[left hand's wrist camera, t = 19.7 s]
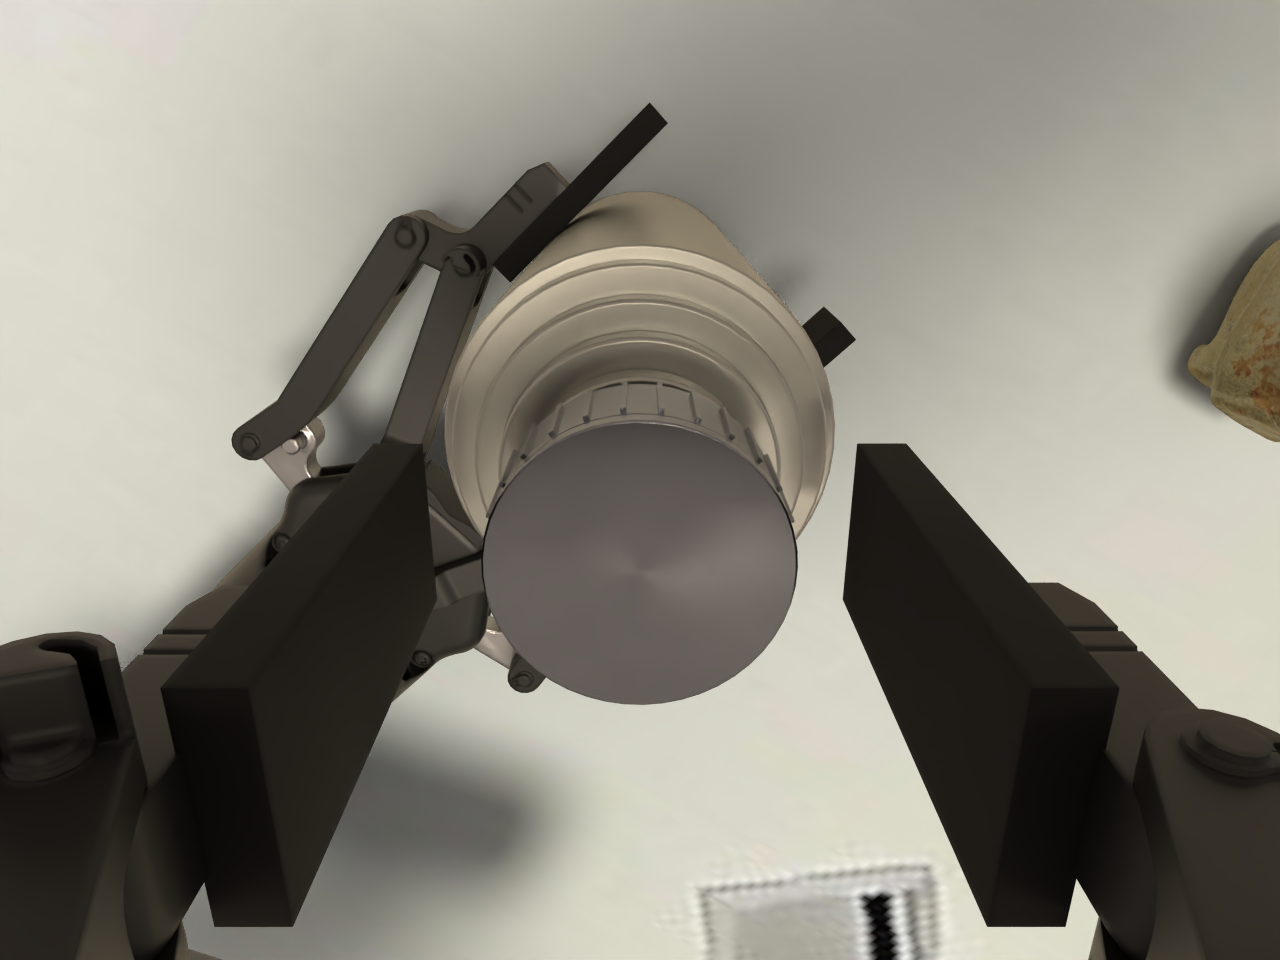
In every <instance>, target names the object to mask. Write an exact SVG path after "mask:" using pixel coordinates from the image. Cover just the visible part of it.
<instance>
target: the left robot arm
mask: <svg viewBox="0 0 1280 960" xmlns="http://www.w3.org/2000/svg"><path fill="white" fill-rule="evenodd" d="M436 601H437V593H436V582H435V571H434V560H433V549H432V538H431V528H430V517H429V506H428V495H427V484H426V474H425V463H424V452H423V444H373V445H372V446H371V448H370V449H369V450H368V451H367V452H366V453H365V454H364V456H363V457H362V458H361V459H360V460H359V461H358V462H357V464H356V465H355V466H354V467H353V468H352V469H351V470H350V472H349V473H348V474H347V475H346V476H345V477H344V478H343V480H342V481H341V482H340V483H339V484H338V485H337V486H336V488H335V489H334V490H333V491H332V492H331V493H330V494H329V496H328V497H327V498H326V499H325V500H324V501H323V502H322V504H321V505H320V506H319V507H318V508H317V509H316V510H315V512H314V513H313V514H312V515H311V516H310V517H309V518H308V520H307V521H306V522H305V523H304V524H303V525H302V526H301V528H300V529H299V530H298V531H297V532H296V533H295V534H294V536H293V537H292V538H291V539H290V540H289V541H288V542H287V544H286V545H285V546H284V547H283V548H282V549H281V550H280V552H279V553H278V554H277V555H276V556H275V557H274V558H273V560H272V561H271V562H270V563H269V564H268V565H267V566H266V568H265V569H264V570H263V571H262V572H261V573H260V574H259V576H258V577H257V578H256V579H255V580H254V581H253V582H252V584H251V585H250V586H221V587H219V588H217V589H216V590H214V591H212V592H210V593H208V594H207V595H205V596H203V597H201V598H199V599H198V600H196V601H194V602H192V603H190V604H189V605H187V606H186V607H185V608H184V609H183V610H182V611H181V612H180V613H179V614H178V615H177V616H176V617H175V618H174V619H173V620H172V621H171V622H170V623H169V624H168V625H167V626H166V627H165V628H164V629H163V634H162V635H157V636H156V637H155V638H154V639H153V640H152V641H151V642H150V644H149V645H148V646H147V647H146V648H145V649H144V653H143V655H138V656H137V657H136V658H135V659H134V660H133V661H132V662H131V663H130V664H129V665H128V666H127V667H126V668H125V669H124V670H123V671H122V672H121V669H120V665H119V660H118V656H117V652H116V648H115V644H113V643H112V642H110V641H109V640H107V639H106V638H104V637H103V636H101V635H97V634H90V633H84V632H63V633H49V634H43V635H38V636H34V637H29V638H25V639H21V640H16V641H12V642H9V643H7V644H4V645H1V646H0V960H189V952H188V945H187V938H186V934H185V930H184V926H183V922H182V919H183V917H184V915H185V914H186V912H187V910H188V909H189V907H190V905H191V904H192V902H193V900H194V898H195V897H196V895H197V893H198V892H199V890H200V888H201V886H202V885H203V883H204V882H205V887H206V891H207V896H208V900H209V904H210V909H211V913H212V918H213V922H214V926H215V927H293V925H294V923H295V920H296V918H297V916H298V914H299V911H300V909H301V907H302V905H303V902H304V900H305V898H306V895H307V893H308V891H309V889H310V886H311V884H312V882H313V880H314V877H315V875H316V873H317V871H318V868H319V866H320V864H321V861H322V859H323V857H324V855H325V852H326V850H327V848H328V846H329V843H330V841H331V839H332V837H333V834H334V832H335V830H336V827H337V825H338V823H339V821H340V818H341V816H342V814H343V812H344V809H345V807H346V805H347V803H348V800H349V798H350V796H351V793H352V791H353V789H354V787H355V784H356V782H357V780H358V778H359V775H360V773H361V771H362V769H363V766H364V764H365V762H366V759H367V757H368V755H369V753H370V750H371V748H372V746H373V744H374V741H375V739H376V737H377V735H378V732H379V730H380V728H381V725H382V723H383V721H384V719H385V716H386V714H387V712H388V710H389V707H390V705H391V703H392V701H393V698H394V696H395V694H396V691H397V689H398V687H399V685H400V682H401V680H402V678H403V676H404V673H405V671H406V669H407V667H408V664H409V662H410V660H411V657H412V655H413V653H414V651H415V648H416V646H417V644H418V642H419V639H420V637H421V635H422V633H423V630H424V628H425V626H426V623H427V621H428V619H429V617H430V614H431V612H432V610H433V608H434V605H435V603H436ZM843 601H844V603H845V605H846V608H847V610H848V612H849V614H850V617H851V619H852V621H853V623H854V626H855V628H856V630H857V633H858V635H859V637H860V639H861V642H862V644H863V646H864V648H865V651H866V653H867V655H868V657H869V660H870V662H871V664H872V667H873V669H874V671H875V673H876V676H877V678H878V680H879V682H880V685H881V687H882V689H883V691H884V694H885V696H886V698H887V701H888V703H889V705H890V707H891V710H892V712H893V714H894V716H895V719H896V721H897V723H898V725H899V728H900V730H901V732H902V735H903V737H904V739H905V741H906V744H907V746H908V748H909V750H910V753H911V755H912V757H913V759H914V762H915V764H916V766H917V769H918V771H919V773H920V775H921V778H922V780H923V782H924V784H925V787H926V789H927V791H928V793H929V796H930V798H931V800H932V803H933V805H934V807H935V809H936V812H937V814H938V816H939V818H940V821H941V823H942V825H943V827H944V830H945V832H946V834H947V837H948V839H949V841H950V843H951V846H952V848H953V850H954V852H955V855H956V857H957V859H958V861H959V864H960V866H961V868H962V871H963V873H964V875H965V877H966V880H967V882H968V884H969V886H970V889H971V891H972V893H973V895H974V898H975V900H976V902H977V905H978V907H979V909H980V911H981V914H982V916H983V918H984V920H985V923H986V925H987V927H1065V926H1066V922H1067V918H1068V913H1069V909H1070V904H1071V900H1072V896H1073V891H1074V887H1075V882H1076V878H1077V880H1078V882H1079V884H1080V885H1081V887H1082V889H1083V890H1084V892H1085V894H1086V895H1087V897H1088V899H1089V900H1090V902H1091V904H1092V906H1093V907H1094V909H1095V911H1096V912H1097V914H1098V916H1099V918H1098V922H1097V926H1096V930H1095V934H1094V938H1093V943H1092V947H1091V951H1090V955H1089V959H1088V960H1280V734H1279V733H1277V732H1275V731H1272V730H1270V729H1268V728H1266V727H1263V726H1261V725H1259V724H1257V723H1254V722H1252V721H1250V720H1248V719H1245V718H1241V717H1238V716H1234V715H1230V714H1226V713H1222V712H1219V711H1215V710H1207V709H1198V708H1197V707H1196V706H1195V705H1194V704H1193V703H1192V702H1191V701H1190V700H1189V699H1188V698H1187V697H1186V696H1185V695H1184V694H1183V693H1182V692H1181V690H1180V689H1179V688H1178V687H1177V686H1176V685H1175V684H1174V683H1173V682H1172V681H1171V680H1170V679H1169V678H1168V677H1167V676H1166V675H1165V674H1164V673H1163V672H1162V671H1161V670H1160V669H1159V668H1158V667H1157V666H1156V665H1155V664H1154V663H1153V662H1152V661H1151V660H1150V659H1149V658H1148V657H1147V656H1146V655H1145V654H1144V653H1143V652H1142V651H1137V646H1136V645H1135V644H1134V643H1133V642H1132V641H1131V640H1130V639H1129V637H1128V636H1127V635H1126V634H1125V633H1124V632H1123V631H1118V626H1117V625H1116V624H1115V623H1114V622H1113V621H1112V620H1111V619H1110V618H1109V617H1108V616H1107V615H1106V614H1105V613H1104V612H1103V611H1102V610H1101V609H1100V608H1099V607H1098V606H1097V605H1096V604H1095V603H1094V602H1092V601H1090V600H1088V599H1087V598H1085V597H1083V596H1081V595H1079V594H1078V593H1076V592H1074V591H1072V590H1070V589H1069V588H1067V587H1065V586H1063V585H1061V584H1060V583H1028V582H1027V581H1026V580H1025V579H1024V578H1023V577H1022V576H1021V574H1020V573H1019V572H1018V571H1017V570H1016V569H1015V568H1014V566H1013V565H1012V564H1011V563H1010V562H1009V561H1008V560H1007V558H1006V557H1005V556H1004V555H1003V554H1002V553H1001V552H1000V550H999V549H998V548H997V547H996V546H995V545H994V544H993V542H992V541H991V540H990V539H989V538H988V537H987V536H986V534H985V533H984V532H983V531H982V530H981V529H980V528H979V526H978V525H977V524H976V523H975V522H974V521H973V520H972V518H971V517H970V516H969V515H968V514H967V513H966V512H965V510H964V509H963V508H962V507H961V506H960V505H959V504H958V502H957V501H956V500H955V499H954V498H953V497H952V496H951V494H950V493H949V492H948V491H947V490H946V489H945V488H944V486H943V485H942V484H941V483H940V482H939V481H938V480H937V478H936V477H935V476H934V475H933V474H932V473H931V472H930V470H929V469H928V468H927V467H926V466H925V465H924V464H923V462H922V461H921V460H920V459H919V458H918V457H917V456H916V454H915V453H914V452H913V451H912V450H911V449H910V448H909V446H908V445H907V444H857V452H856V463H855V474H854V484H853V495H852V506H851V517H850V528H849V538H848V549H847V560H846V571H845V582H844V593H843Z"/></svg>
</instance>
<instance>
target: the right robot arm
mask: <svg viewBox="0 0 1280 960" xmlns="http://www.w3.org/2000/svg"><path fill="white" fill-rule="evenodd" d="M666 124H667V122H666V121H665V120H664V118H663V117H662V116H661V115H660V114H659V113H658V112H657V110H656V109H655V108H654V107H653V106H652V105H651V103H649V104H648V105H647V106H646V107H645V108H644V109H643V110H642V111H641V112H640V113H639V114H638V115H637V116H636V117H635V118H634V119H633V120H632V121H631V122H630V123H629V124H628V125H627V126H626V127H625V128H624V129H623V130H622V131H621V132H620V133H619V134H618V136H617V137H616V138H615V139H614V140H613V141H612V142H611V143H610V144H609V145H608V146H607V147H606V148H605V149H604V150H603V151H602V152H601V153H600V154H599V155H598V156H597V157H596V158H595V159H594V160H593V161H592V162H591V163H590V164H589V165H588V166H587V167H586V168H585V169H584V170H583V171H582V172H581V174H580V175H579V176H578V177H577V178H576V179H575V180H574V181H573V182H572V183H571V184H569V183H568V182H567V181H566V180H565V179H564V178H563V177H562V176H561V174H560V173H559V172H558V171H557V170H556V169H555V168H554V167H553V166H552V165H551V164H550V163H549V162H547V163H543V164H541V165H539V166H536V167H534V168H532V169H529V170H527V172H526V173H525V174H524V175H523V176H522V177H521V178H520V179H519V180H518V181H517V182H516V183H515V184H514V185H513V186H512V187H511V188H510V189H509V190H508V191H507V193H506V194H505V195H504V196H503V197H502V198H501V199H500V200H499V201H498V202H497V203H496V204H495V205H494V206H493V207H492V208H491V209H490V210H489V211H488V212H487V214H486V215H485V216H484V217H483V218H482V219H481V220H480V221H479V222H478V223H477V224H476V225H475V226H474V227H473V228H470V229H461V228H457V227H455V226H453V225H451V224H449V223H447V222H445V221H442V220H440V219H438V218H437V217H436V216H435V214H434V213H432V212H429V211H427V210H417V211H414V212H411V213H408V214H404V215H401V216H399V217H396V218H394V219H393V220H392V221H391V222H390V223H389V224H388V225H387V227H386V228H385V230H384V231H383V233H382V235H381V236H380V238H379V239H378V241H377V243H376V244H375V246H374V247H373V249H372V251H371V252H370V254H369V255H368V257H367V259H366V260H365V262H364V263H363V265H362V266H361V268H360V270H359V271H358V273H357V274H356V276H355V278H354V279H353V281H352V282H351V284H350V286H349V287H348V289H347V290H346V292H345V294H344V295H343V297H342V298H341V300H340V301H339V303H338V305H337V306H336V308H335V309H334V311H333V313H332V314H331V316H330V317H329V319H328V321H327V322H326V324H325V325H324V327H323V329H322V330H321V332H320V333H319V335H318V336H317V338H316V340H315V341H314V343H313V344H312V346H311V348H310V349H309V351H308V352H307V354H306V356H305V357H304V359H303V360H302V362H301V363H300V365H299V367H298V368H297V370H296V371H295V373H294V375H293V376H292V378H291V379H290V381H289V383H288V384H287V386H286V387H285V389H284V391H283V392H282V394H281V395H280V397H279V398H278V400H277V401H275V402H274V403H273V404H271V405H270V406H268V407H267V408H265V409H264V410H263V411H261V412H260V413H258V414H257V415H256V416H254V417H253V418H251V419H250V420H249V421H247V422H246V423H244V424H243V425H242V426H240V427H239V428H238V429H237V430H236V431H235V432H234V433H233V436H232V439H231V440H232V446H233V448H234V450H235V451H236V453H237V454H239V455H240V456H241V457H242V458H245V459H247V460H258V459H261V458H262V459H263V460H264V461H265V462H266V463H267V464H268V466H269V467H270V468H271V469H272V470H273V472H274V473H275V474H276V475H277V476H278V477H279V479H280V480H281V481H282V482H283V483H284V484H285V486H286V487H287V488H288V489H289V490H290V493H289V495H288V497H287V500H286V506H285V511H284V514H283V517H282V519H281V521H280V522H279V523H278V524H277V525H276V526H275V527H274V528H273V529H272V530H271V531H270V532H269V533H268V534H267V535H266V536H265V537H264V538H263V539H262V540H261V541H260V542H259V543H258V544H257V546H256V547H255V548H254V549H253V550H252V551H251V552H250V553H249V554H248V555H247V556H246V557H245V558H244V559H243V560H242V561H241V562H240V563H239V564H238V565H237V566H236V567H235V568H234V569H233V570H232V571H231V572H230V573H229V574H228V575H227V576H226V577H225V578H224V579H223V580H222V581H221V582H220V583H219V584H218V585H217V587H216V588H215V589H214V590H216V589H217V588H219V587H221V586H250V585H251V584H252V582H253V581H254V580H255V579H256V578H257V577H258V576H259V574H260V573H261V572H262V571H263V570H264V569H265V568H266V566H267V565H268V564H269V563H270V562H271V561H272V560H273V558H274V557H275V556H276V555H277V554H278V553H279V552H280V550H281V549H282V548H283V547H284V546H285V545H286V544H287V542H288V541H289V540H290V539H291V538H292V537H293V536H294V534H295V533H296V532H297V531H298V530H299V529H300V528H301V526H302V525H303V524H304V523H305V522H306V521H307V520H308V518H309V517H310V516H311V515H312V514H313V513H314V512H315V510H316V509H317V508H318V507H319V506H320V505H321V504H322V502H323V501H324V500H325V499H326V498H327V497H328V496H329V494H330V493H331V492H332V491H333V490H334V489H335V488H336V486H337V485H338V484H339V483H340V482H341V481H342V480H343V478H344V477H345V476H346V475H347V474H348V473H349V472H350V470H351V469H352V468H353V467H354V466H355V465H356V464H357V463H351V464H344V465H336V466H328V467H320V465H319V464H318V462H317V459H316V451H317V448H318V447H319V445H320V444H321V443H322V441H323V440H324V437H325V430H324V426H323V423H322V422H321V420H320V419H318V418H317V416H318V415H320V414H321V413H322V412H323V411H324V410H325V409H326V408H327V407H328V406H329V405H330V404H331V403H332V402H333V401H334V400H335V398H336V397H337V396H338V394H339V393H340V392H341V390H342V389H343V387H344V386H345V384H346V383H347V381H348V380H349V378H350V377H351V375H352V373H353V372H354V370H355V369H356V367H357V366H358V364H359V363H360V361H361V360H362V358H363V357H364V355H365V354H366V352H367V350H368V349H369V347H370V346H371V344H372V343H373V341H374V340H375V338H376V337H377V335H378V334H379V332H380V331H381V329H382V328H383V326H384V324H385V323H386V321H387V320H388V318H389V317H390V315H391V314H392V312H393V311H394V309H395V308H396V306H397V305H398V303H399V301H400V300H401V298H402V297H403V295H404V294H405V292H406V291H407V289H408V288H409V286H410V285H411V283H412V282H413V280H414V278H415V277H416V275H417V274H418V272H419V271H420V269H421V268H422V266H423V265H424V264H426V265H428V266H430V267H433V268H435V269H437V270H439V271H441V272H440V275H439V278H438V281H437V284H436V287H435V290H434V293H433V295H432V298H431V301H430V304H429V307H428V310H427V313H426V316H425V319H424V322H423V325H422V328H421V330H420V333H419V336H418V339H417V342H416V345H415V348H414V351H413V354H412V357H411V360H410V362H409V365H408V368H407V371H406V374H405V377H404V380H403V383H402V386H401V389H400V392H399V395H398V397H397V400H396V403H395V406H394V409H393V412H392V415H391V418H390V421H389V424H388V427H387V429H386V432H385V435H384V437H383V439H382V441H381V443H380V444H423V452H424V461H425V459H426V456H427V453H428V450H429V448H430V445H431V442H432V439H433V437H434V434H435V430H436V425H437V422H438V419H439V416H440V413H441V411H442V408H443V405H444V402H445V400H446V397H447V394H448V391H449V388H450V384H451V381H452V377H453V374H454V371H455V367H456V365H457V363H458V361H459V358H460V356H461V354H462V352H463V350H464V347H465V345H466V342H467V339H468V336H469V334H470V331H471V328H472V325H473V323H474V320H475V317H476V314H477V312H478V309H479V306H480V303H481V301H482V298H483V295H484V292H485V290H486V287H487V284H488V281H489V279H490V276H491V273H492V270H493V268H494V266H495V267H496V268H497V269H498V270H499V271H500V272H501V273H502V274H503V275H504V276H505V277H506V278H507V279H508V281H509V282H511V281H512V280H513V279H514V278H515V277H516V276H517V275H518V274H519V273H520V272H521V271H522V270H523V269H524V268H525V267H526V266H527V265H528V264H529V263H530V262H531V261H532V260H533V259H534V258H535V257H536V256H537V255H538V254H539V253H540V252H541V251H542V250H543V249H544V248H545V247H546V246H547V245H548V244H549V243H550V242H551V241H552V240H553V239H554V238H555V237H556V236H557V235H558V234H559V233H560V232H561V231H562V230H563V229H564V228H565V227H566V226H567V225H568V224H569V223H570V222H571V221H572V220H573V219H574V218H575V217H576V216H577V215H578V214H579V212H580V211H581V210H582V209H583V208H584V207H585V206H586V205H587V204H588V203H589V202H590V201H591V200H592V199H593V198H594V197H595V196H596V195H597V194H598V193H599V192H600V191H601V190H602V189H603V188H604V187H605V186H606V185H607V184H608V183H609V182H610V181H611V180H612V179H613V178H614V177H615V176H616V175H617V174H618V173H619V172H620V171H621V170H622V169H623V168H624V167H625V166H626V165H627V164H628V163H629V162H630V161H631V160H632V159H633V158H634V157H635V156H636V155H637V154H638V153H639V152H640V151H641V150H642V149H643V148H644V147H645V146H646V145H647V144H648V143H649V142H650V141H651V140H652V139H653V138H654V137H655V136H656V135H657V134H658V133H659V132H660V131H661V130H662V128H663V127H664V126H665V125H666ZM802 327H803V328H804V330H805V331H806V333H807V335H808V337H809V338H810V340H811V342H812V344H813V345H814V347H815V349H816V351H817V353H818V355H819V358H820V360H821V363H822V365H823V368H824V367H825V366H826V365H827V364H829V363H830V362H831V361H832V360H833V359H834V358H835V357H837V356H838V355H839V354H840V353H841V352H842V351H844V350H845V349H846V348H847V347H848V346H849V345H850V344H852V343H853V342H854V341H855V340H856V339H855V338H854V337H853V336H852V335H851V333H850V332H849V331H848V330H847V329H846V328H845V326H844V325H843V324H842V323H841V322H840V321H839V320H838V319H837V318H836V317H835V316H833V315H832V314H831V313H830V312H829V311H828V310H827V309H826V308H825V307H823V308H822V309H821V310H820V311H818V312H817V313H816V314H815V315H814V316H813V317H812V318H811V319H809V320H808V321H807V322H806V323H805V324H804V325H803V326H802ZM424 463H425V474H426V484H427V495H428V506H429V517H430V528H431V538H432V549H433V560H434V571H435V582H436V593H437V601H436V603H435V605H434V608H433V610H432V612H431V614H430V617H429V619H428V621H427V623H426V626H425V628H424V630H423V633H422V635H421V637H420V639H419V642H418V644H417V646H416V648H415V651H414V653H413V655H412V657H411V660H410V662H409V664H408V667H407V669H406V671H405V673H404V676H403V678H402V680H401V682H400V685H399V687H398V689H397V691H396V694H395V696H394V698H393V701H394V700H395V699H396V698H397V697H399V696H400V695H401V694H402V693H403V692H404V691H405V690H406V689H408V688H409V687H410V686H411V685H412V684H413V683H414V682H415V681H417V680H418V679H419V678H420V677H421V676H422V675H423V674H425V673H426V672H427V671H428V670H429V669H430V668H431V667H432V666H433V665H434V664H435V663H437V662H438V661H439V660H441V659H443V658H445V657H448V656H450V655H454V654H458V653H463V652H466V651H469V650H471V649H472V648H474V649H476V650H478V651H479V652H481V653H483V654H484V655H486V656H488V657H489V658H491V659H493V660H494V661H496V662H498V663H499V664H501V665H503V666H504V667H506V668H508V669H509V673H508V682H509V684H510V686H511V687H512V688H513V689H514V690H516V691H518V692H521V693H529V692H532V691H534V690H535V689H536V688H538V687H539V685H540V684H541V683H542V682H543V680H544V679H545V678H546V677H545V676H544V675H542V674H541V673H539V672H538V671H537V670H535V669H534V668H533V667H532V666H531V665H530V664H528V663H527V662H526V661H525V660H524V659H523V658H522V657H521V656H520V655H519V654H518V653H517V652H516V650H515V649H514V648H513V647H512V646H511V645H510V644H509V642H508V641H507V639H506V638H505V636H504V635H503V633H502V632H501V630H500V629H499V627H498V625H497V623H496V621H495V619H494V617H491V616H490V615H491V611H490V608H489V604H488V601H487V598H486V595H485V592H484V586H483V580H482V572H481V552H482V551H481V546H482V543H483V539H482V538H481V536H480V535H479V534H478V532H477V531H476V530H475V528H474V526H473V525H472V523H471V521H470V520H469V518H468V516H467V514H466V513H465V511H464V509H463V507H462V505H461V502H460V500H459V498H458V495H457V493H456V490H455V488H454V485H453V482H452V480H451V479H450V477H449V476H448V474H447V473H446V472H445V471H444V470H442V469H441V468H440V467H439V466H438V465H437V464H436V463H435V462H434V461H433V460H431V461H430V462H429V463H428V464H427V463H426V462H424ZM393 701H392V702H393ZM188 952H189V960H221V959H218V958H215V957H212V956H209V955H206V954H202V953H199V952H196V951H193V950H190V949H188Z"/></svg>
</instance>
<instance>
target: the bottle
mask: <svg viewBox="0 0 1280 960" xmlns="http://www.w3.org/2000/svg"><path fill="white" fill-rule="evenodd" d="M622 382H627V385H631V384H645V385H657V382H659V383H662V384H663V386H665V387H671V388H675V389H679V390H682V391H685V392H689V393H690V392H691V390H692V391H695V392H696V393H697V396H699V397H701V398H703V399H705V400H708V401H710V402H711V403H713V404H715V405H716V406H718V407H719V408H721V407H722V406H724V407H726V408H727V411H728V414H729V415H731V416H732V417H733V418H734V419H735V420H737V421H738V422H739V423H740V424H741V425H742V426H743V427H744V428H745V429H746V428H748V427H749V428H750V429H751V431H752V433H753V436H754V438H755V441H756V443H757V444H758V446H759V447H760V449H761V450H762V452H763V454H764V455H765V454H767V453H768V455H769V457H770V459H771V462H772V464H773V466H774V469H775V471H776V474H777V476H778V479H779V481H780V484H781V486H782V489H783V493H784V495H785V498H786V500H787V503H788V505H789V508H790V510H791V512H792V515H793V517H794V521H795V522H794V523H792V526H793V529H794V533H795V539H797V538H798V537H799V536H800V534H801V533H802V531H803V529H804V528H805V526H806V525H807V523H808V522H809V520H810V519H811V517H812V515H813V513H814V511H815V509H816V507H817V505H818V503H819V501H820V498H821V496H822V494H823V491H824V488H825V485H826V482H827V478H828V475H829V472H830V467H831V461H832V456H833V450H834V431H835V421H834V411H833V401H832V396H831V392H830V388H829V384H828V380H827V375H826V373H825V370H824V368H823V365H822V363H821V360H820V358H819V355H818V353H817V351H816V349H815V347H814V345H813V344H812V342H811V340H810V338H809V337H808V335H807V333H806V331H805V330H804V328H803V327H802V326H801V325H800V323H799V322H798V321H797V319H796V318H795V317H794V315H793V314H792V313H791V312H790V310H789V309H788V308H787V307H786V306H785V304H784V303H783V302H782V301H781V300H780V299H779V298H778V296H777V295H776V294H775V293H774V292H773V291H772V290H771V288H770V287H769V286H768V285H767V284H766V283H765V282H764V281H763V279H762V278H761V277H760V276H759V275H758V274H757V273H756V271H755V270H754V269H753V268H752V267H751V266H750V265H749V263H748V262H747V261H746V260H745V259H744V258H743V257H742V255H741V254H740V253H739V252H738V251H737V250H736V249H735V247H734V246H733V245H732V244H731V243H730V242H729V241H728V239H727V238H726V237H725V236H724V235H723V234H722V233H721V231H720V230H719V229H718V228H717V227H716V226H715V225H714V224H713V223H712V222H711V221H710V220H709V219H708V218H707V217H706V216H705V215H704V214H702V213H701V212H700V211H698V210H697V209H696V208H694V207H693V206H691V205H689V204H687V203H685V202H683V201H681V200H679V199H676V198H674V197H671V196H668V195H664V194H659V193H654V192H643V191H641V192H626V193H620V194H615V195H612V196H609V197H606V198H603V199H600V200H598V201H596V202H594V203H592V204H590V205H589V206H587V207H586V208H584V209H583V210H581V211H580V212H579V214H578V215H577V216H576V217H575V218H574V219H573V220H572V221H571V222H570V223H569V224H568V225H567V226H566V227H565V228H564V229H563V230H562V231H561V232H560V233H559V234H558V235H557V236H556V237H555V238H554V239H553V240H552V241H551V242H550V243H549V244H548V245H547V246H546V247H545V248H544V249H543V250H542V252H541V253H540V254H539V255H538V256H537V257H536V258H535V260H534V261H533V262H532V263H531V264H530V265H529V266H528V268H527V269H526V270H525V271H524V272H523V273H522V274H521V276H520V277H519V278H518V279H517V280H516V281H515V282H514V283H513V285H512V286H511V287H510V288H509V289H508V290H507V291H506V293H505V294H504V295H503V296H502V297H501V298H500V299H499V301H498V302H497V303H496V304H495V305H494V306H493V308H492V309H491V310H490V311H489V312H488V313H487V315H486V316H485V317H484V318H483V319H482V320H481V321H480V323H479V324H478V326H477V328H476V329H475V331H474V332H473V334H472V335H471V337H470V339H469V340H468V342H467V343H466V345H465V347H464V350H463V352H462V354H461V356H460V358H459V361H458V363H457V365H456V367H455V371H454V374H453V377H452V381H451V384H450V388H449V391H448V398H447V404H446V411H445V446H446V454H447V462H448V466H449V470H450V474H451V478H452V481H453V485H454V488H455V490H456V493H457V495H458V498H459V500H460V502H461V505H462V507H463V509H464V511H465V513H466V514H467V516H468V518H469V520H470V521H471V523H472V525H473V526H474V528H475V530H476V531H477V532H478V534H479V535H480V536H481V538H482V539H483V537H484V533H485V529H486V526H487V522H488V518H486V513H487V511H488V508H489V506H490V503H491V501H492V498H493V496H494V494H495V491H496V489H497V486H498V484H499V481H500V479H501V477H502V475H503V473H504V470H505V468H506V465H507V463H508V460H509V458H510V455H511V453H512V451H513V450H514V449H515V450H516V451H518V449H519V447H520V446H521V444H522V443H523V441H524V440H525V439H526V438H527V436H528V433H529V430H530V428H531V426H532V425H533V424H535V425H538V424H539V423H540V422H541V421H543V420H544V419H545V418H546V417H547V416H548V415H549V414H551V413H552V412H554V411H555V409H556V406H557V405H558V404H560V403H561V404H562V405H564V404H566V403H568V402H570V401H572V400H574V399H576V398H578V397H580V396H582V395H585V394H587V391H588V390H590V389H593V391H596V390H600V389H604V388H609V387H613V386H620V385H622Z"/></svg>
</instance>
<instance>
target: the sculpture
mask: <svg viewBox="0 0 1280 960" xmlns="http://www.w3.org/2000/svg"><path fill="white" fill-rule="evenodd" d="M1188 371H1189V372H1190V374H1191V375H1193V376H1194V377H1195V378H1196V379H1197V380H1198V381H1199V382H1201V383H1202V384H1203V385H1205V386H1207V387H1208V388H1210V389H1211V392H1210V399H1211V402H1212V403H1213V404H1214V405H1215V406H1216V407H1217V408H1218V409H1219V410H1220V411H1222V412H1223V413H1225V414H1226V415H1227V416H1229V417H1230V418H1232V419H1233V420H1235V421H1236V422H1238V423H1239V424H1241V425H1243V426H1244V427H1246V428H1248V429H1250V430H1252V431H1253V432H1255V433H1257V434H1259V435H1261V436H1263V437H1264V438H1266V439H1269V440H1271V441H1274V442H1280V239H1279V240H1277V241H1276V242H1275V243H1273V244H1272V245H1271V246H1270V247H1269V248H1268V249H1267V250H1265V251H1264V253H1263V254H1262V255H1261V256H1260V257H1259V258H1258V260H1257V261H1256V262H1255V263H1254V265H1253V266H1252V268H1251V269H1250V271H1249V272H1248V274H1247V275H1246V276H1245V278H1244V280H1243V282H1242V283H1241V285H1240V287H1239V289H1238V291H1237V292H1236V294H1235V296H1234V298H1233V300H1232V302H1231V305H1230V307H1229V309H1228V312H1227V314H1226V316H1225V318H1224V320H1223V323H1222V325H1221V327H1220V329H1219V331H1218V333H1217V335H1216V336H1215V338H1214V339H1213V340H1212V341H1211V342H1210V343H1209V344H1203V345H1200V346H1198V347H1197V348H1196V349H1194V351H1193V352H1192V354H1191V356H1190V358H1189V361H1188Z"/></svg>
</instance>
